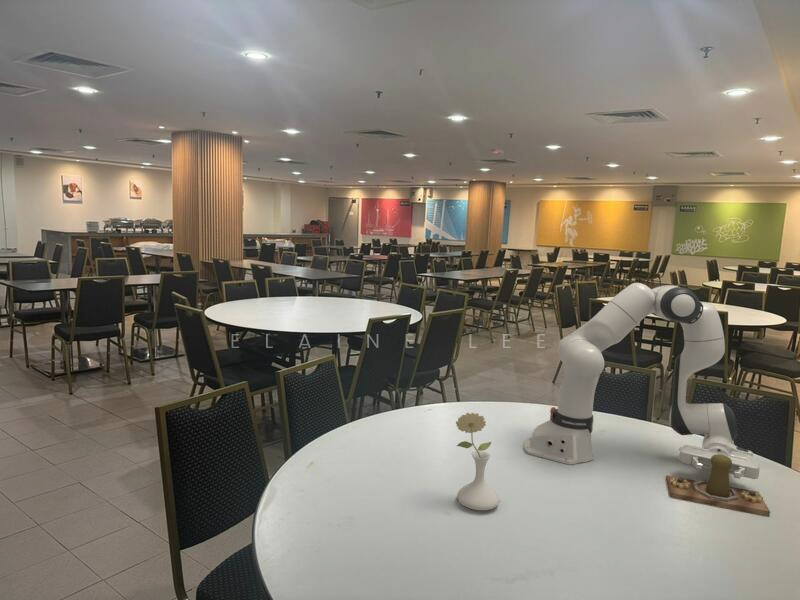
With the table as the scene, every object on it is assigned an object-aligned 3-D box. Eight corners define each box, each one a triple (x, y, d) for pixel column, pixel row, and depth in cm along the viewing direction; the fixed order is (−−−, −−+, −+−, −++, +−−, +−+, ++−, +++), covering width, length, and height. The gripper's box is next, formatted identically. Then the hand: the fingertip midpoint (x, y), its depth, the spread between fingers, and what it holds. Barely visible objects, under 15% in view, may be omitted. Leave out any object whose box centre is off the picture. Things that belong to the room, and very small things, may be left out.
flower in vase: (502, 498, 148) (508, 410, 145) (495, 518, 137) (502, 424, 134) (456, 488, 152) (461, 403, 149) (446, 508, 141) (451, 416, 138)
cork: (731, 500, 149) (736, 462, 148) (707, 495, 151) (711, 458, 150) (727, 490, 155) (732, 454, 153) (703, 486, 157) (707, 450, 155)
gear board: (670, 497, 152) (671, 485, 152) (665, 479, 163) (667, 468, 163) (769, 516, 144) (771, 503, 144) (757, 496, 155) (759, 484, 155)
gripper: (681, 436, 169) (677, 451, 157) (758, 452, 159) (761, 470, 147) (678, 455, 170) (675, 472, 158) (756, 473, 159) (758, 491, 148)
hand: (717, 471), depth 152 cm, fingers open, 8 cm apart
